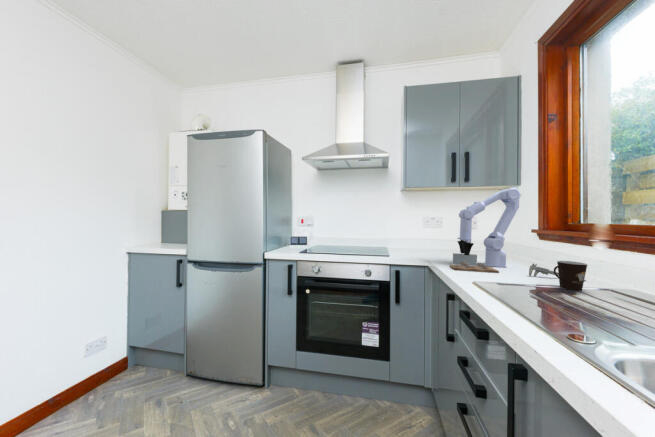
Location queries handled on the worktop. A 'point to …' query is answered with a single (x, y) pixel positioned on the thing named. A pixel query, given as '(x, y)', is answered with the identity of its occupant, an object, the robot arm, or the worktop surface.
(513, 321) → the worktop surface
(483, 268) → the hinge board
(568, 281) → the coffee mug
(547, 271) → the caliper
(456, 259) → the door panel
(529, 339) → the worktop surface
